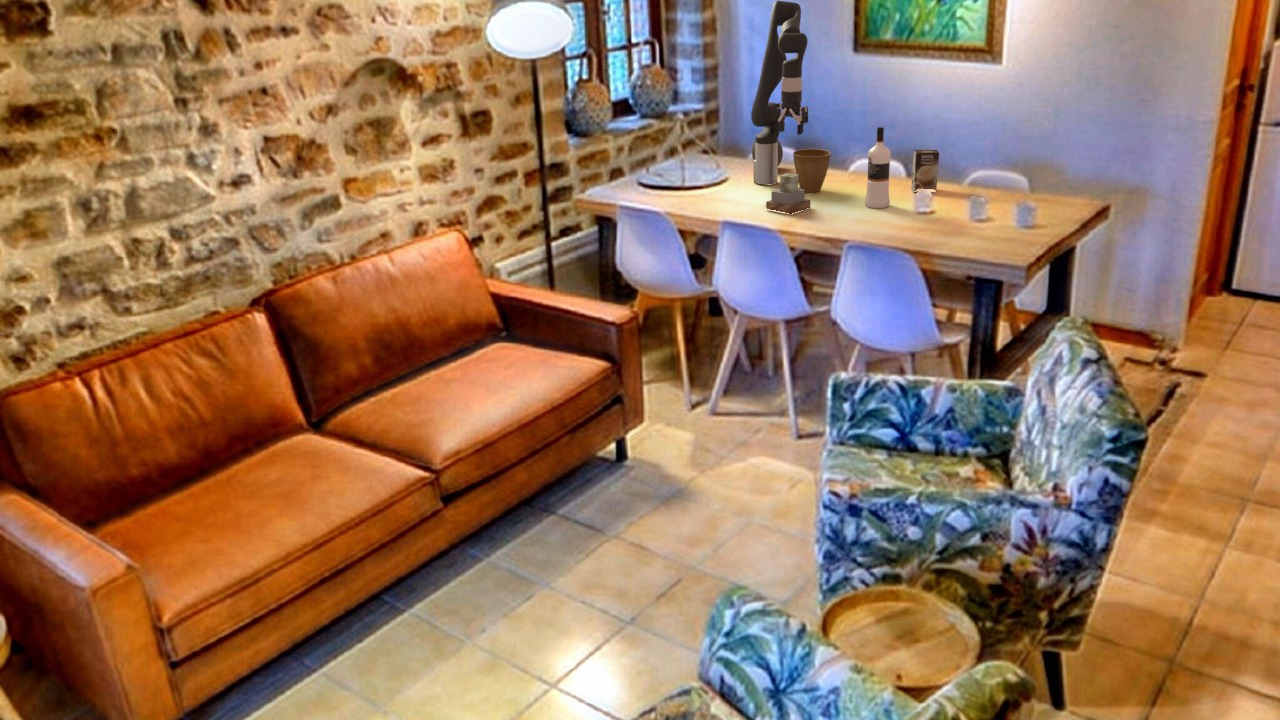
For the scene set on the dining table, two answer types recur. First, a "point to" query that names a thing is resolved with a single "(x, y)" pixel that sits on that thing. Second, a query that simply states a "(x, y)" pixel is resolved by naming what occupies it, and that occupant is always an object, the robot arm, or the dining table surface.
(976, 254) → the dining table surface
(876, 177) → the vodka
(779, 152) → the grey curved pieces
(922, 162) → the coffee box
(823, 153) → the plant pot
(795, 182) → the sage block
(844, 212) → the dining table surface
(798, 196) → the tower upper block
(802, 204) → the tower lower block
